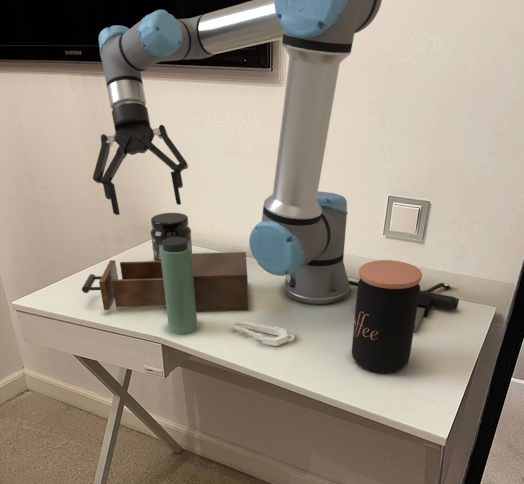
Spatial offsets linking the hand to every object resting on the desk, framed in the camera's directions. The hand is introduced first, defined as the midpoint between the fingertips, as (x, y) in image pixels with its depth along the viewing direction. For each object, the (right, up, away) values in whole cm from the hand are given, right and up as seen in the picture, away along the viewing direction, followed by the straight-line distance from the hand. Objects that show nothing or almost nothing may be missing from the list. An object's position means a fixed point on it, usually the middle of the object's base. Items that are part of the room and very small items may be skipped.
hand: (147, 208), depth 117 cm
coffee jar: (+47, -33, -15) cm, 59 cm away
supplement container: (+1, -7, +29) cm, 30 cm away
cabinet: (+13, -19, +9) cm, 24 cm away
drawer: (-5, -18, +8) cm, 20 cm away
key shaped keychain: (+25, -28, -7) cm, 38 cm away
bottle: (+8, -26, -3) cm, 27 cm away
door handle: (+56, -23, +2) cm, 61 cm away
